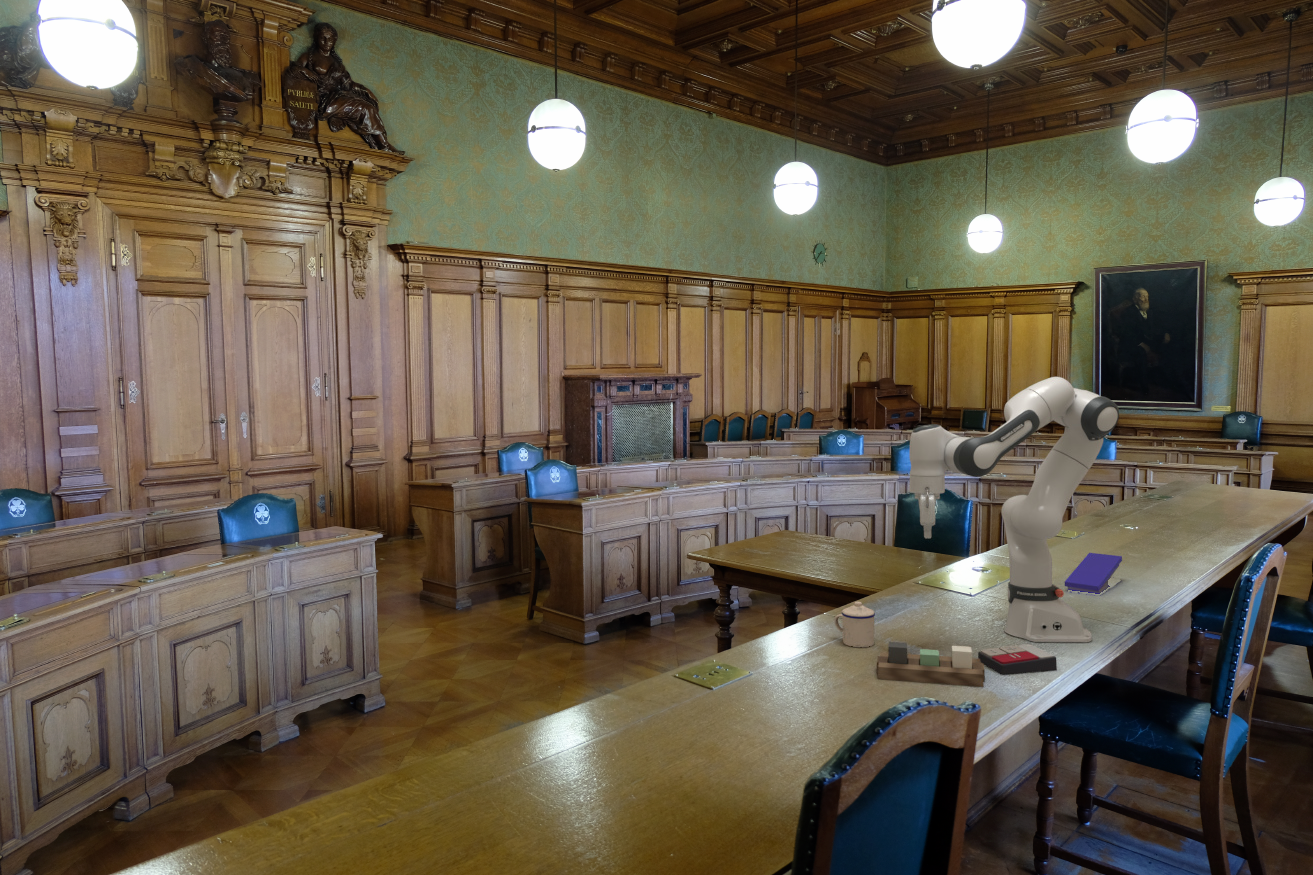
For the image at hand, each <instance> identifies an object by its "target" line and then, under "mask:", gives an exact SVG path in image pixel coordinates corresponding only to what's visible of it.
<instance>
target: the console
mask: <svg viewBox="0 0 1313 875" xmlns="http://www.w3.org/2000/svg"><path fill="white" fill-rule="evenodd" d="M876 658H877V659H876V675H878V680H887V681H900V682H901V681H902V682H915V683H927V684H939V685H940V684H942V685H954V686H966V687H967V686H968V687H976V688H977V687H981V688H984V686H985V685H984V683H985V682H986V681H985V680H986V679H985V673H986V672H985V665H983V663H981V661H980V659H978V658H977V657H975V658H974V657H972V669H965V668H952V656H946V655H939V667H937V666H923V665H920V654H915V653H914V654H912V653H907V664H895V663H889V659H888V651H887V652H884V651H883V652H882V651H880V652H879V655H877V657H876Z"/></svg>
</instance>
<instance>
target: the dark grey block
mask: <svg viewBox="0 0 1313 875" xmlns="http://www.w3.org/2000/svg"><path fill="white" fill-rule="evenodd" d="M887 650H888V651H887V652H888V659H889V663H895V664H907V654H908V642H902V641H900V642H899V641H888V647H887Z"/></svg>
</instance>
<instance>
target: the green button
mask: <svg viewBox="0 0 1313 875" xmlns="http://www.w3.org/2000/svg"><path fill="white" fill-rule="evenodd" d="M919 655H920V665H923V666H937V667H939V656H940V651H939V650H938V649H928V648H927V649H926V648H925V649H924V648H919Z"/></svg>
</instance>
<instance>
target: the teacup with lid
mask: <svg viewBox="0 0 1313 875" xmlns="http://www.w3.org/2000/svg"><path fill="white" fill-rule="evenodd" d="M875 616H876V614H875V611H874V609H871V608H868V607H867V606H865V605H863V604H862V602H861V601H854V604H853V605H851V606H849V607H846V608H843V609H842V610H841V613H840V614H837V615H836V616H834V625H835V628H836V630H838V631H839V632H841V633H842V642H843V644H844V645H846V646H848V647H851V646H853V648H860V647H862V648H869V646H870V647H872V646H874V645H875ZM839 618H842V627H841V625H840V623H839Z"/></svg>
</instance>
